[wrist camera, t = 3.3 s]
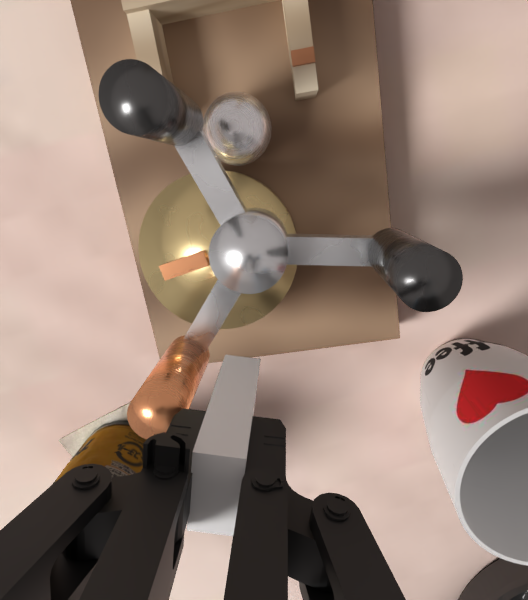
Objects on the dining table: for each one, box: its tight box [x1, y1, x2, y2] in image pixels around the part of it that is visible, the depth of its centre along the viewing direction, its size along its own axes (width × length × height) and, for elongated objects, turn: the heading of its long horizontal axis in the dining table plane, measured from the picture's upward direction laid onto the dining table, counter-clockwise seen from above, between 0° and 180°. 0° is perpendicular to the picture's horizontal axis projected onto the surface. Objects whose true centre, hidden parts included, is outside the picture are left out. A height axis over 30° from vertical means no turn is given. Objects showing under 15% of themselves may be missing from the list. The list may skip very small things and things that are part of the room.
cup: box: [420, 339, 528, 566], centre depth 22 cm, size 8×8×10 cm
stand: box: [71, 0, 400, 363], centre depth 22 cm, size 22×14×4 cm, turn 9°
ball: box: [203, 92, 272, 166], centre depth 20 cm, size 3×3×3 cm
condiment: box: [51, 403, 147, 486], centre depth 24 cm, size 7×8×12 cm
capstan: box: [99, 59, 463, 439], centre depth 18 cm, size 13×12×10 cm
